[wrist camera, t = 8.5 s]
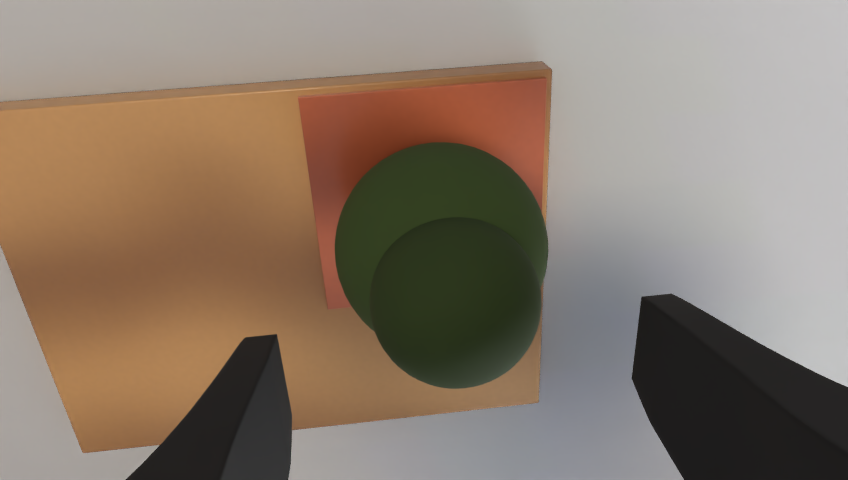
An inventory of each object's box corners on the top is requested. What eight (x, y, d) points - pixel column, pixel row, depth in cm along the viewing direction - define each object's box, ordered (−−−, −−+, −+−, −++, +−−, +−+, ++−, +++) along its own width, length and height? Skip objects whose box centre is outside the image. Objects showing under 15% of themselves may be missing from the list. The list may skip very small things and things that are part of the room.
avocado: (517, 272, 21) (593, 440, 14) (346, 288, 20) (346, 468, 14) (520, 105, 18) (614, 217, 12) (325, 120, 18) (313, 245, 12)
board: (532, 385, 25) (540, 407, 24) (92, 433, 24) (80, 458, 22) (543, 60, 19) (554, 70, 18) (-33, 103, 18) (-57, 116, 17)
